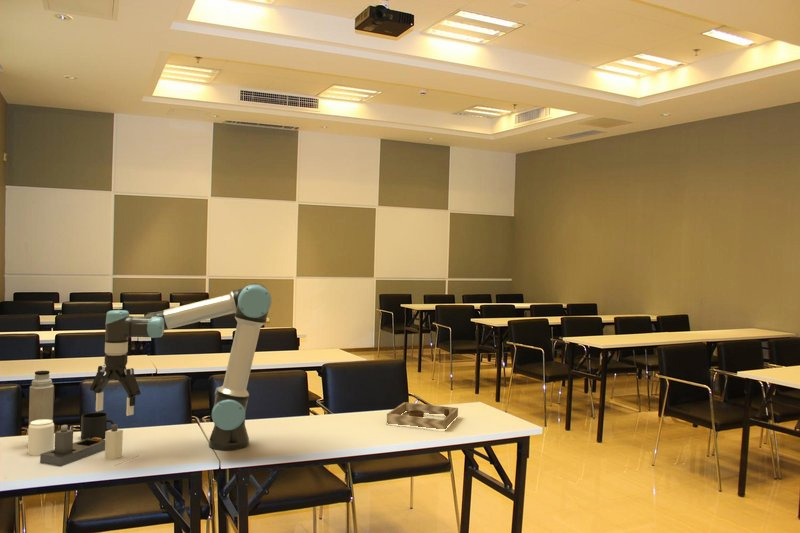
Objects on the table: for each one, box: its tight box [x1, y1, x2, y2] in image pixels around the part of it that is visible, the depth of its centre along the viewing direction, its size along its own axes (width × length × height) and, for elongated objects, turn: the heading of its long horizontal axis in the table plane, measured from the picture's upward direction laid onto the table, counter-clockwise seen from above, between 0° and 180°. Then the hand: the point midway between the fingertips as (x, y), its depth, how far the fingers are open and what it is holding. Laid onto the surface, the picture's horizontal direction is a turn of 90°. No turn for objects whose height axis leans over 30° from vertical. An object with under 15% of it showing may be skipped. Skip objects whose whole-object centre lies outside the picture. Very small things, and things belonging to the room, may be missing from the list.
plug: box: [104, 423, 124, 460], centre depth 228 cm, size 4×4×12 cm
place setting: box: [408, 409, 449, 418], centre depth 296 cm, size 18×20×6 cm
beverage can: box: [27, 419, 55, 457], centre depth 231 cm, size 8×8×12 cm
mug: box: [80, 411, 115, 440], centre depth 254 cm, size 9×12×9 cm
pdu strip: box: [39, 437, 105, 467], centre depth 228 cm, size 22×9×5 cm, turn 162°
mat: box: [114, 455, 139, 467], centre depth 228 cm, size 12×12×1 cm
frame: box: [386, 401, 459, 429], centre depth 296 cm, size 27×26×5 cm
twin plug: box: [54, 424, 74, 455], centre depth 223 cm, size 4×4×12 cm
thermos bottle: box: [28, 370, 55, 426], centre depth 242 cm, size 8×8×28 cm
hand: (114, 412), depth 228 cm, fingers open, 13 cm apart
